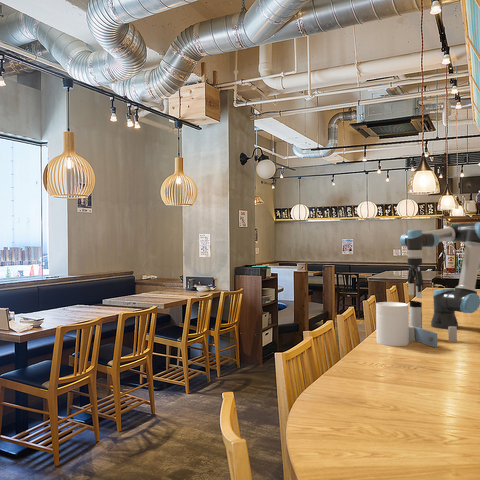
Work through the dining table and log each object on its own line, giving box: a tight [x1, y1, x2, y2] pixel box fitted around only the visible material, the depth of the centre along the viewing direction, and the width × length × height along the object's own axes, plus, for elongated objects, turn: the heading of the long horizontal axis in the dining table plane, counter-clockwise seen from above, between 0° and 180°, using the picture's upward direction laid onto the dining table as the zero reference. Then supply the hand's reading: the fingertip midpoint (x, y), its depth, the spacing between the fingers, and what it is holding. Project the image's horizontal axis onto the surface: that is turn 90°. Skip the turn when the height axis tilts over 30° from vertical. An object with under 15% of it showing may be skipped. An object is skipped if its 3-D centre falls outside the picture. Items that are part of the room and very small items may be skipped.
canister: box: [375, 301, 410, 347], centre depth 231 cm, size 16×16×20 cm
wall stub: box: [447, 327, 458, 343], centre depth 232 cm, size 4×2×8 cm, turn 85°
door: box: [414, 326, 438, 348], centre depth 226 cm, size 17×3×7 cm, turn 13°
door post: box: [409, 325, 415, 343], centre depth 234 cm, size 3×3×8 cm
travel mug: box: [408, 300, 423, 329], centre depth 243 cm, size 6×7×20 cm
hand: (415, 296), depth 243 cm, fingers open, 13 cm apart
